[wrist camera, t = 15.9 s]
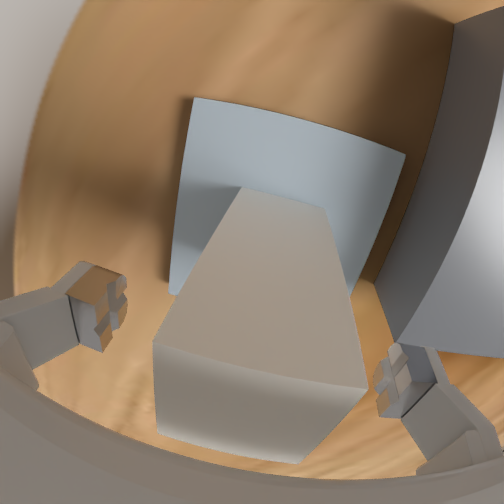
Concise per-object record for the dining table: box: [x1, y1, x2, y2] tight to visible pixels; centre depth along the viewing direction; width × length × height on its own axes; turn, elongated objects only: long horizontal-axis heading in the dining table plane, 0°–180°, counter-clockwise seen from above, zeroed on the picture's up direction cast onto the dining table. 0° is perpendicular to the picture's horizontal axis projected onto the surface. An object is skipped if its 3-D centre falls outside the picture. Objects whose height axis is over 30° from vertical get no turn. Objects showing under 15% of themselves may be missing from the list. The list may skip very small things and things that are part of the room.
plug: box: [152, 187, 368, 464], centre depth 10 cm, size 4×4×10 cm
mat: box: [168, 97, 406, 297], centre depth 15 cm, size 11×10×1 cm
